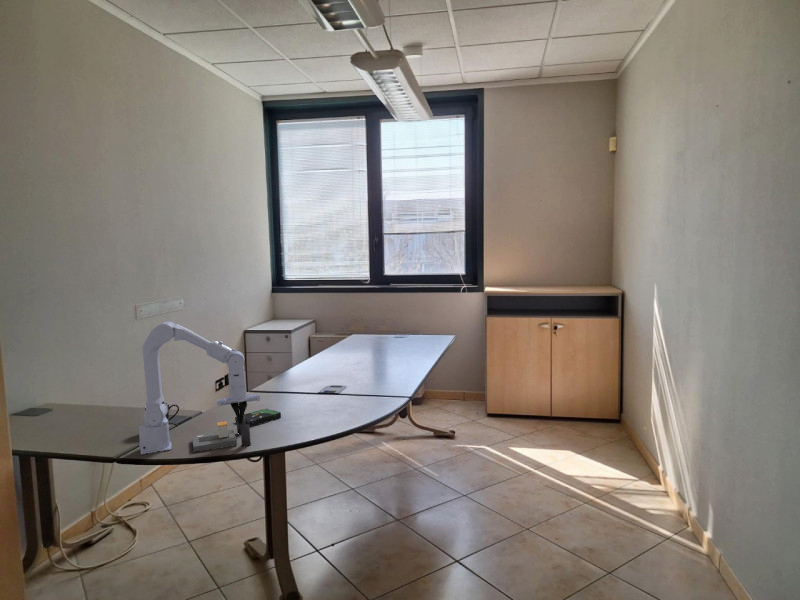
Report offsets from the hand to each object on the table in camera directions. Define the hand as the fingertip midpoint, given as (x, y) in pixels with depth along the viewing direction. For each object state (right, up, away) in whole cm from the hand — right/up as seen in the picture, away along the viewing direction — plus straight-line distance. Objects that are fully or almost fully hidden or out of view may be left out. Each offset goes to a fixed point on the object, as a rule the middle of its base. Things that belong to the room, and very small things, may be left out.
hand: (240, 422), depth 192 cm
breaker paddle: (-5, -4, -2) cm, 7 cm away
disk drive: (+1, -5, +22) cm, 23 cm away
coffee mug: (-33, -6, +14) cm, 37 cm away
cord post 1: (-2, -5, +7) cm, 9 cm away
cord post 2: (+4, -6, -6) cm, 9 cm away
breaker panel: (-8, -7, -3) cm, 11 cm away
